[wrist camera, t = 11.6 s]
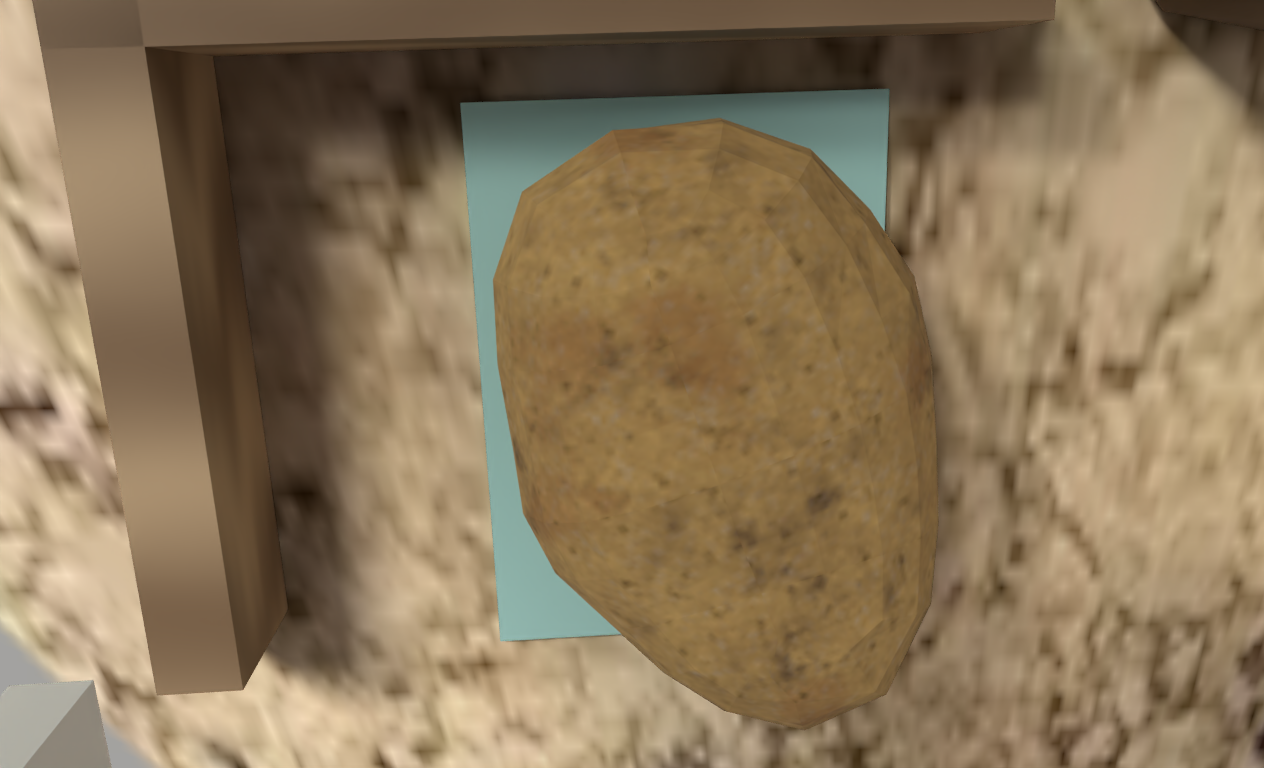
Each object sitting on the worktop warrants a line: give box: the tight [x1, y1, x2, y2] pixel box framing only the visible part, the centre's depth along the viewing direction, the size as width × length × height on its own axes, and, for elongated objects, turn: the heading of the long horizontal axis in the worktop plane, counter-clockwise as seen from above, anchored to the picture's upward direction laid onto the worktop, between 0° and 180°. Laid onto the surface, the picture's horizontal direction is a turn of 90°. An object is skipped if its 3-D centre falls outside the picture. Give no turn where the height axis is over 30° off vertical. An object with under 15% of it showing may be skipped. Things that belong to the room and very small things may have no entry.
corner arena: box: [32, 0, 1056, 695], centre depth 24 cm, size 16×20×4 cm
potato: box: [493, 118, 938, 730], centre depth 23 cm, size 10×14×8 cm
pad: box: [460, 89, 890, 641], centre depth 27 cm, size 14×10×1 cm
